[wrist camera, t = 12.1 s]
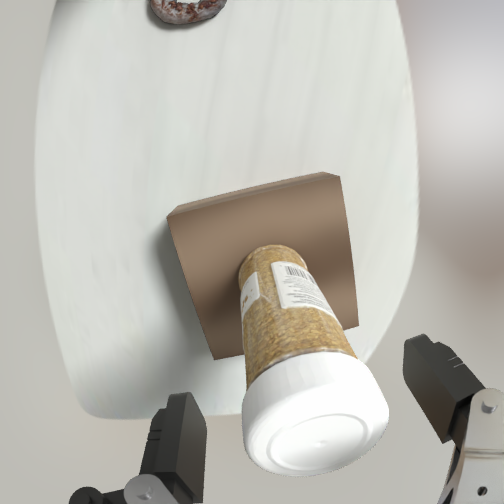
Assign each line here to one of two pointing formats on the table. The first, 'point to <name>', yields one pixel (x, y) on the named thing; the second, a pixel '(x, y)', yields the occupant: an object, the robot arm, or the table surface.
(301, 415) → the sprinkles bottle
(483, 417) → the robot arm
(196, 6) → the donut
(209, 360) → the table surface
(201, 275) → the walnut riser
